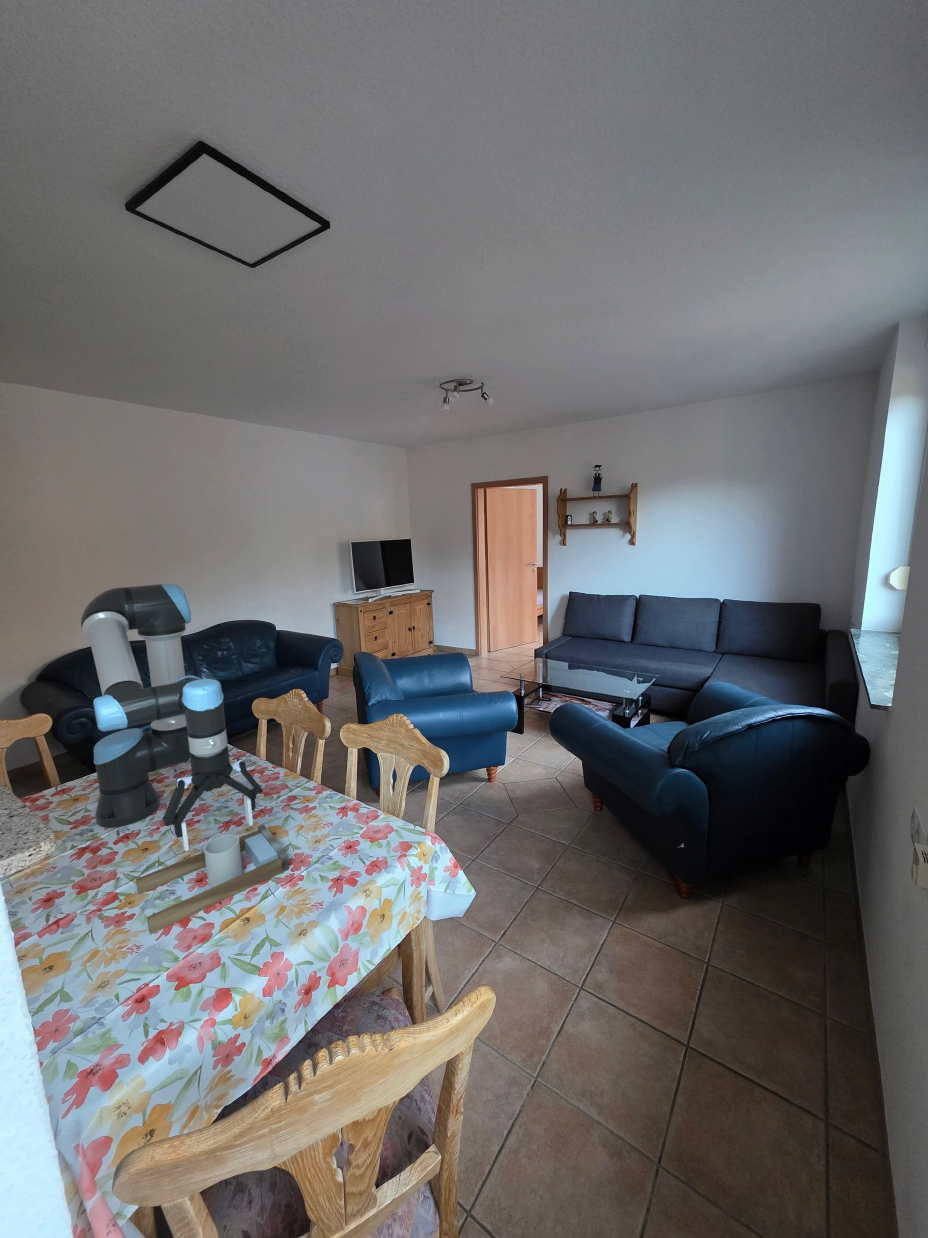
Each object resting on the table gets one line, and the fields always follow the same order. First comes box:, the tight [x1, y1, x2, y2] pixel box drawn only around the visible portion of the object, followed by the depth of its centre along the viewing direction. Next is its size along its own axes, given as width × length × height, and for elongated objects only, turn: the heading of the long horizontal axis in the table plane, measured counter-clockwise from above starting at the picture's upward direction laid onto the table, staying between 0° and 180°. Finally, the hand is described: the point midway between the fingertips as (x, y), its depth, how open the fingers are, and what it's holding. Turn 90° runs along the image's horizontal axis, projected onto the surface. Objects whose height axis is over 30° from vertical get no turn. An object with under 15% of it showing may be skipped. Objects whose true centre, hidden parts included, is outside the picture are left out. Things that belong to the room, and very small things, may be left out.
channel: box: [135, 823, 289, 935], centre depth 111 cm, size 16×28×4 cm, turn 131°
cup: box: [203, 833, 243, 888], centre depth 113 cm, size 7×10×9 cm
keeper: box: [245, 833, 278, 868], centre depth 118 cm, size 11×4×4 cm
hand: (218, 834), depth 112 cm, fingers open, 13 cm apart
